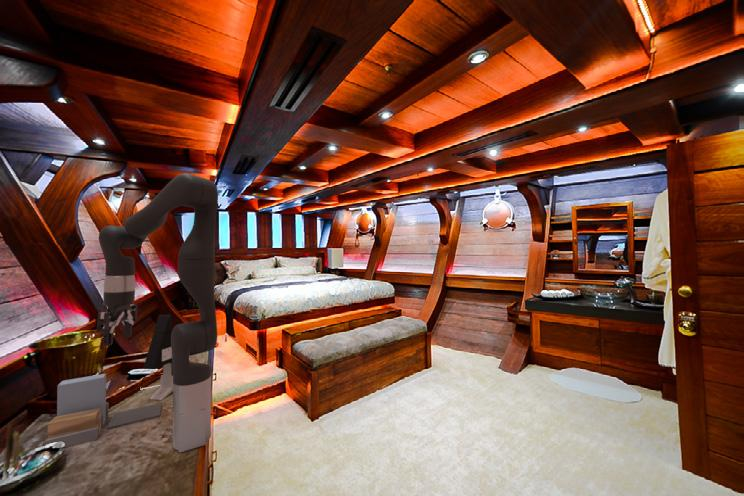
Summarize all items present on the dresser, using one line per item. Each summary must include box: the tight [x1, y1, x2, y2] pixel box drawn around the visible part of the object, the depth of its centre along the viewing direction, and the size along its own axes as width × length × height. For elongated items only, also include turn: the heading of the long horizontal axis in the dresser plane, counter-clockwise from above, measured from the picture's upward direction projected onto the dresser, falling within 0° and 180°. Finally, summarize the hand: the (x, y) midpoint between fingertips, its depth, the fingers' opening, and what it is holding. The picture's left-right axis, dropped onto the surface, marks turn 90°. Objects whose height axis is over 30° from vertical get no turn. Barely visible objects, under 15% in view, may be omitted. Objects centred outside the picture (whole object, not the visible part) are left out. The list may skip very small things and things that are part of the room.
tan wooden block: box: [44, 401, 109, 448], centre depth 88 cm, size 13×11×5 cm
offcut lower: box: [47, 420, 102, 439], centre depth 85 cm, size 4×10×4 cm, turn 121°
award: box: [143, 314, 173, 401], centre depth 113 cm, size 15×5×30 cm, turn 168°
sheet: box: [56, 373, 107, 426], centre depth 90 cm, size 4×10×15 cm, turn 122°
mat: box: [106, 402, 163, 431], centre depth 97 cm, size 10×13×1 cm
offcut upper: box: [47, 408, 101, 438], centre depth 85 cm, size 4×10×4 cm, turn 117°
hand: (118, 341), depth 93 cm, fingers open, 8 cm apart
